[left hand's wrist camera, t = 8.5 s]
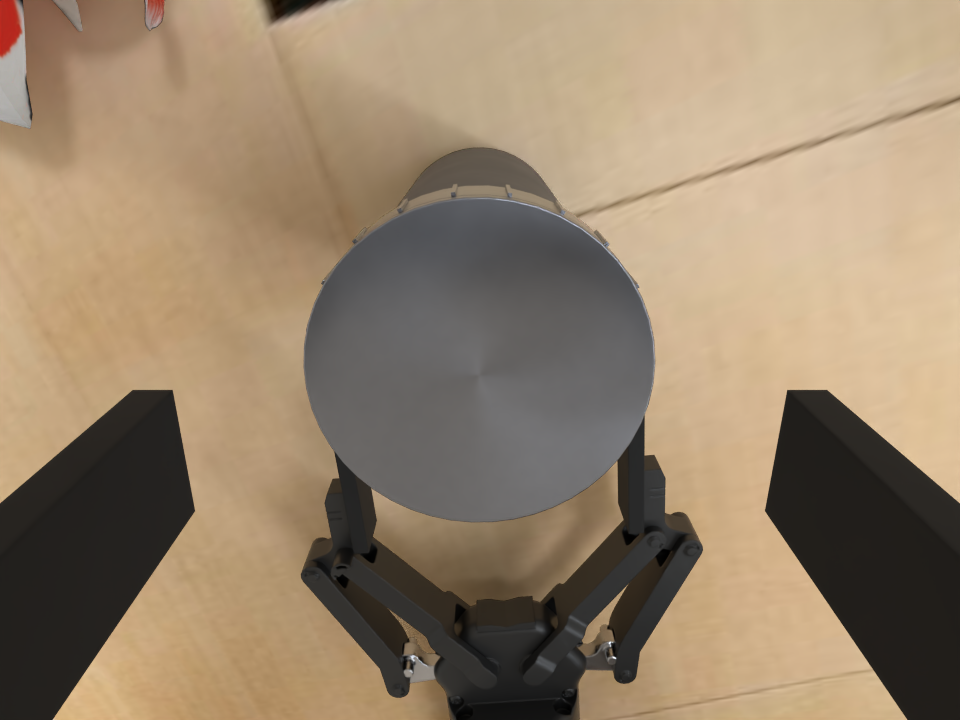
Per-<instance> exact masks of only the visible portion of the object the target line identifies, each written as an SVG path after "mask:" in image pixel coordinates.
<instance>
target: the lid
mask: <svg viewBox="0 0 960 720" xmlns="http://www.w3.org/2000/svg"><path fill="white" fill-rule="evenodd" d="M352 242H353V243H354V244H353V245H352V246H351V248H350V249H349V250H348V251H347V252H346V254H345V255H344V256H343V257H342V258H341V260H340V261H339V262H338V263H337V264H336V266H335V267H334V268H333V269H332V270H331V271H330V273H329V274H328V275H327V276H326V277H325V278H324V280H323V281H322V283H321V284H323V286H322V288H321V290H320V292H319V294H318V296H317V299H316V301H315V303H314V306H313V309H312V312H311V315H310V318H309V321H308V325H307V329H306V337H305V343H304V374H305V382H306V389H307V393H308V396H309V400H310V404H311V408H312V410H313V413H314V415H315V417H316V420H317V422H318V425H319V427H320V429H321V431H322V432H323V434H324V436H325V438H326V439H327V441H328V443H329V444H330V446H331V447H332V449H333V450H334V451H335V453H336V454H337V455H338V456H339V458H340V459H341V460H342V462H343V463H344V464H345V465H346V466H347V467H348V468H349V469H350V470H351V471H352V472H353V473H354V474H355V475H356V476H357V477H358V478H360V479H361V480H362V481H363V482H365V483H366V484H367V485H368V486H370V487H371V488H372V489H374V490H375V491H377V492H378V493H380V494H382V495H383V496H385V497H387V498H388V499H390V500H391V501H394V502H396V503H398V504H400V505H402V506H404V507H407V508H409V509H411V510H414V511H417V512H420V513H423V514H426V515H429V516H433V517H438V518H443V519H447V520H454V521H464V522H496V521H504V520H512V519H517V518H521V517H525V516H529V515H533V514H536V513H539V512H542V511H545V510H547V509H550V508H553V507H555V506H557V505H559V504H561V503H563V502H565V501H567V500H569V499H571V498H573V497H574V496H576V495H577V494H579V493H580V492H582V491H583V490H585V489H587V488H588V487H589V486H591V485H592V484H593V483H594V482H595V481H597V480H598V479H599V478H600V477H601V476H603V475H604V474H605V473H606V472H607V471H608V470H609V469H610V468H611V467H612V466H613V464H614V463H615V462H616V461H617V460H618V459H619V458H620V457H621V455H622V454H623V452H624V451H625V450H626V448H627V447H628V445H629V444H630V443H631V441H632V439H633V437H634V436H635V434H636V432H637V430H638V428H639V426H640V425H641V423H642V420H643V417H644V415H645V412H646V409H647V407H648V404H649V400H650V396H651V391H652V387H653V382H654V371H655V348H654V337H653V332H652V327H651V323H650V318H649V315H648V313H647V310H646V307H645V304H644V301H643V299H642V296H641V295H640V293H639V291H638V289H637V288H639V285H638V284H637V282H636V281H635V280H634V279H633V278H632V276H631V275H630V274H629V273H628V272H627V270H626V269H625V268H624V267H623V265H622V264H621V263H620V261H619V260H618V259H617V257H616V256H615V255H614V254H613V253H612V251H611V250H610V249H609V248H608V247H607V246H608V245H609V243H608V242H607V241H606V240H605V238H604V237H603V236H602V235H601V234H600V233H599V232H598V231H597V230H596V231H595V232H594V231H593V230H592V229H591V228H590V227H589V226H587V225H586V224H585V223H584V222H582V221H581V220H580V219H578V218H577V217H576V216H575V215H573V214H572V213H570V212H569V211H567V210H565V209H564V208H563V207H562V206H561V204H560V203H559V202H558V201H556V200H555V202H554V203H553V202H551V201H549V200H546V199H544V198H541V197H539V196H536V195H534V194H531V193H527V192H523V191H519V190H516V189H512V188H510V185H505V187H496V186H461V187H458V186H457V184H453V187H452V188H448V189H442V190H439V191H435V192H432V193H429V194H425V195H422V196H420V197H417V198H415V199H413V200H411V201H408V199H405V200H403V202H402V203H401V205H400V206H398V207H397V208H395V209H394V210H392V211H390V212H389V213H387V214H386V215H384V216H382V217H381V218H380V219H379V220H378V221H377V222H375V223H374V224H373V225H372V226H371V227H369V228H368V229H367V228H366V227H364V228H363V229H362V231H361V232H360V233H359V234H358V235H357V236H356V237H355V239H354V240H353V241H352Z"/></svg>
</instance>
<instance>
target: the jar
mask: <svg viewBox="0 0 960 720" xmlns="http://www.w3.org/2000/svg"><path fill="white" fill-rule="evenodd" d="M453 184H457V186H458V187H461V186H496V187H505V185H510V188H512V189H516V190H519V191H523V192H527V193H531V194H534V195H536V196H539V197H541V198H544V199H546V200H549V201H551V202H553V203H554V202H555V200H556V201H558V200H557V199H556V198H555V196H554V195H553V193H552V192H551V191H550V189H549V188H548V187H547V185H546V184H545V182H544V181H543V180H542V178H541V177H540V176H539V174H538V173H537V172H536V171H535V170H534V169H533V168H532V167H530V166H529V165H528V164H527V163H525V162H524V161H523V160H521V159H519V158H517V157H516V156H514V155H511V154H509V153H507V152H504V151H500V150H496V149H490V148H469V149H463V150H459V151H456V152H453V153H450V154H448V155H446V156H444V157H442V158H440V159H439V160H437V161H436V162H434V163H433V164H432V165H430V166H429V167H428V168H427V169H426V170H425V171H424V172H423V173H422V174H421V175H420V176H419V177H418V179H417V180H416V182H415V183H414V184H413V186H412V187H411V188H410V190H409V191H408V192H407V194H406V195H405V197H404V198H403V199H402V201H401V202H400V203H399V205H398V206H400V205H401V203H402V202H403V200H405V199H408V201H411V200H413V199H415V198H417V197H420V196H422V195H425V194H429V193H432V192H435V191H439V190H442V189H448V188H452V187H453ZM398 206H397V207H398ZM397 207H396V208H397Z"/></svg>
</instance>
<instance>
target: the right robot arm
mask: <svg viewBox="0 0 960 720" xmlns="http://www.w3.org/2000/svg"><path fill="white" fill-rule="evenodd" d="M644 423H645V415H644V417H643V420H642V423H641V425H640V426H639V428H638V430H637V432H636V434H635V436H634V437H633V439H632V441H631V443H630V444H629V445H628V447H627V448H626V450H625V451H624V452H623V454H622V455H621V457H620V458H619V459H618V504H619V507H620V510H621V513H622V516H623V519H624V520H623V521H622V522H621V523H620V525H619V526H618V527H617V528H616V529H615V530H614V531H613V532H612V533H611V534H610V535H609V536H608V537H607V538H606V540H605V541H604V542H603V543H602V544H601V545H600V546H599V547H598V548H597V549H596V550H595V551H594V552H593V553H592V554H591V556H590V557H589V558H588V559H587V560H586V561H585V562H584V563H583V564H582V565H581V566H580V567H579V568H578V569H577V571H576V572H575V573H574V574H573V575H572V576H571V577H570V578H569V579H568V580H567V581H566V582H565V583H564V584H561V583H559V584H557V585H556V586H555V587H554V588H553V589H552V590H551V591H550V592H549V593H548V594H547V596H546V597H545V598H544V599H543V600H542V601H541V602H538V601H533V598H532V596H527V597H517V598H514V599H510V600H507V601H500V600H493V599H484V600H477V604H476V605H474V606H471V607H470V606H469V605H468V604H466V603H465V602H464V601H463V600H461V599H460V598H459V597H457V596H456V595H455V594H454V593H452V592H451V591H447V592H443V591H442V590H440V589H439V588H438V587H436V586H435V585H434V584H433V583H431V582H430V581H429V580H427V579H426V578H425V577H424V576H422V575H421V574H420V573H418V572H417V571H416V570H415V569H413V568H412V567H411V566H409V565H408V564H407V563H406V562H404V561H403V560H402V559H401V558H399V557H398V556H397V555H395V554H394V553H393V552H392V551H390V550H389V549H388V548H386V547H385V546H384V545H383V544H381V543H380V542H379V541H377V540H376V539H375V538H374V537H373V534H374V530H375V525H376V521H377V520H376V514H375V508H374V502H373V496H372V490H371V487H370V486H368V485H367V484H366V483H365V482H363V481H362V480H361V479H360V478H358V477H357V476H356V475H355V474H354V473H353V472H352V471H351V470H350V469H349V468H348V467H347V466H346V465H345V464H344V463H343V462H342V460H341V459H340V458H339V456H338V455H337V454H336V453H335V457H336V462H337V468H338V473H339V478H338V479H333V480H332V482H331V485H330V488H329V490H328V493H327V496H326V500H325V507H326V512H327V517H328V522H329V527H330V532H331V537H332V538H330V539H327V538H318V539H316V540H315V541H313V544H312V546H311V549H310V551H309V554H308V557H307V559H306V562H305V565H304V567H303V570H302V573H301V578H302V580H303V582H304V583H305V584H306V585H307V586H308V587H309V589H310V590H311V591H312V592H313V593H314V594H315V595H316V597H317V598H318V599H319V600H320V601H321V602H322V603H323V604H324V606H325V607H326V608H327V609H328V610H329V611H330V612H331V614H332V615H333V616H334V617H335V618H336V619H337V620H338V622H339V623H340V624H341V625H342V626H343V627H344V628H345V630H346V631H347V632H348V633H349V634H350V635H351V636H352V637H353V639H354V640H355V641H356V642H357V643H358V644H359V645H360V647H361V648H362V649H363V650H364V651H365V652H366V653H367V655H368V656H369V657H370V658H371V659H372V660H373V661H374V663H375V664H376V665H377V666H378V667H379V668H380V670H381V673H382V676H383V679H384V682H385V685H386V688H387V691H388V693H389V694H390V695H391V696H393V697H396V698H401V697H404V696H406V695H407V694H408V692H409V687H410V683H415V682H421V681H428V680H434V679H436V680H437V682H438V683H439V684H440V685H441V686H442V687H443V689H444V690H445V692H446V695H447V701H448V708H449V715H450V720H580V714H579V692H578V684H579V681H580V679H581V677H582V675H583V674H584V672H585V670H613V673H614V678H615V680H616V681H617V682H619V683H623V684H626V683H630V682H632V681H633V680H634V679H635V678H636V674H637V667H638V661H639V654H640V651H641V649H642V648H643V646H644V645H645V643H646V641H647V640H648V638H649V637H650V635H651V633H652V632H653V630H654V629H655V627H656V625H657V624H658V622H659V621H660V619H661V617H662V616H663V614H664V613H665V611H666V609H667V608H668V606H669V605H670V603H671V602H672V600H673V598H674V597H675V595H676V594H677V592H678V590H679V589H680V587H681V586H682V584H683V582H684V581H685V579H686V578H687V576H688V574H689V573H690V571H691V570H692V568H693V566H694V565H695V563H696V562H697V560H698V559H699V557H700V555H701V554H702V551H703V547H702V544H701V542H700V540H699V538H698V536H697V534H696V532H695V530H694V528H693V526H692V524H691V522H690V520H689V518H688V516H687V515H686V514H684V513H682V512H676V513H673V514H671V515H670V514H666V513H665V476H664V474H663V472H662V470H661V468H660V466H659V464H658V462H657V460H656V458H655V455H647V456H644ZM334 452H335V451H334ZM627 585H628V586H627ZM626 586H627V587H626ZM625 587H626V589H625V591H624V593H623V594H622V596H621V598H620V599H619V601H618V603H617V604H616V606H615V608H614V610H613V612H612V614H611V617H610V621H609V626H608V625H602V626H601V627H600V632H599V633H598V635H597V637H596V639H595V640H594V641H593V642H591V643H588V644H583V642H582V639H583V637H584V635H585V631H586V628H587V626H588V625H589V623H590V622H591V621H592V620H593V619H594V618H595V617H596V616H597V615H598V614H599V613H600V612H601V611H602V610H603V609H604V608H605V607H606V606H607V605H608V604H609V603H610V602H611V601H612V600H613V599H614V598H615V597H616V596H617V595H618V594H619V593H620V592H621V591H622V590H623V589H624V588H625ZM389 609H390V610H391V611H392V612H394V613H395V614H396V615H398V616H399V617H400V618H402V619H403V620H404V621H406V622H407V623H408V624H410V625H411V626H412V627H414V628H415V629H416V630H418V631H419V632H420V633H422V634H423V635H424V636H426V638H427V639H428V642H429V645H430V646H431V648H432V649H433V650H434V651H436V652H435V653H434V654H430V653H426V652H424V651H423V650H422V649H421V647H420V646H419V645H418V644H417V639H416V638H414V637H410V638H408V637H407V635H406V632H405V630H404V629H403V627H402V626H401V624H400V623H399V621H398V620H397V619H396V618H395V617H394V615H393V614H392V613H391V612H390V611H389Z"/></svg>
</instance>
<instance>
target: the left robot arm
mask: <svg viewBox="0 0 960 720" xmlns="http://www.w3.org/2000/svg"><path fill="white" fill-rule="evenodd" d="M194 512H195V508H194V503H193V498H192V492H191V487H190V481H189V476H188V471H187V465H186V460H185V454H184V449H183V444H182V438H181V433H180V427H179V422H178V417H177V411H176V406H175V400H174V395H173V390H132V391H131V392H130V393H129V394H128V395H127V396H125V397H124V398H123V399H122V400H121V401H120V402H118V403H117V404H116V405H115V406H114V407H113V408H111V409H110V410H109V411H108V412H107V413H106V414H104V415H103V416H102V417H101V418H100V419H99V420H97V421H96V422H95V423H94V424H93V425H91V426H90V427H89V428H88V429H87V430H86V431H84V432H83V433H82V434H81V435H80V436H79V437H77V438H76V439H75V440H74V441H73V442H72V443H70V444H69V445H68V446H67V447H66V448H65V449H63V450H62V451H61V452H60V453H59V454H58V455H56V456H55V457H54V458H53V459H52V460H51V461H49V462H48V463H47V464H46V465H45V466H43V467H42V468H41V469H40V470H39V471H38V472H36V473H35V474H34V475H33V476H32V477H31V478H29V479H28V480H27V481H26V482H25V483H24V484H22V485H21V486H20V487H19V488H18V489H17V490H15V491H14V492H13V493H12V494H11V495H10V496H8V497H7V498H6V499H5V500H4V501H3V502H1V503H0V720H53V718H54V717H55V715H56V714H57V712H58V711H59V709H60V708H61V707H62V705H63V704H64V702H65V701H66V699H67V698H68V696H69V695H70V693H71V692H72V690H73V689H74V687H75V686H76V685H77V683H78V682H79V680H80V679H81V677H82V676H83V674H84V673H85V671H86V670H87V668H88V667H89V666H90V664H91V663H92V661H93V660H94V658H95V657H96V655H97V654H98V652H99V651H100V649H101V648H102V646H103V645H104V644H105V642H106V641H107V639H108V638H109V636H110V635H111V633H112V632H113V630H114V629H115V627H116V626H117V624H118V623H119V622H120V620H121V619H122V617H123V616H124V614H125V613H126V611H127V610H128V608H129V607H130V605H131V604H132V603H133V601H134V600H135V598H136V597H137V595H138V594H139V592H140V591H141V589H142V588H143V586H144V585H145V583H146V582H147V581H148V579H149V578H150V576H151V575H152V573H153V572H154V570H155V569H156V567H157V566H158V564H159V563H160V562H161V560H162V559H163V557H164V556H165V554H166V553H167V551H168V550H169V548H170V547H171V545H172V544H173V542H174V541H175V540H176V538H177V537H178V535H179V534H180V532H181V531H182V529H183V528H184V526H185V525H186V523H187V522H188V520H189V519H190V518H191V516H192V515H193V513H194ZM765 512H766V513H767V515H768V516H769V518H770V519H771V520H772V522H773V523H774V525H775V526H776V528H777V529H778V531H779V532H780V534H781V535H782V537H783V538H784V540H785V541H786V542H787V544H788V545H789V547H790V548H791V550H792V551H793V553H794V554H795V556H796V557H797V559H798V560H799V562H800V563H801V564H802V566H803V567H804V569H805V570H806V572H807V573H808V575H809V576H810V578H811V579H812V581H813V582H814V583H815V585H816V586H817V588H818V589H819V591H820V592H821V594H822V595H823V597H824V598H825V600H826V601H827V603H828V604H829V605H830V607H831V608H832V610H833V611H834V613H835V614H836V616H837V617H838V619H839V620H840V622H841V623H842V624H843V626H844V627H845V629H846V630H847V632H848V633H849V635H850V636H851V638H852V639H853V641H854V642H855V644H856V645H857V646H858V648H859V649H860V651H861V652H862V654H863V655H864V657H865V658H866V660H867V661H868V663H869V664H870V666H871V667H872V668H873V670H874V671H875V673H876V674H877V676H878V677H879V679H880V680H881V682H882V683H883V685H884V686H885V687H886V689H887V690H888V692H889V693H890V695H891V696H892V698H893V699H894V701H895V702H896V704H897V705H898V707H899V708H900V709H901V711H902V712H903V714H904V715H905V717H906V718H907V720H960V503H959V502H957V501H956V500H955V499H954V498H953V497H952V496H950V495H949V494H948V493H947V492H946V491H945V490H943V489H942V488H941V487H940V486H939V485H938V484H936V483H935V482H934V481H933V480H932V479H931V478H929V477H928V476H927V475H926V474H925V473H924V472H922V471H921V470H920V469H919V468H918V467H916V466H915V465H914V464H913V463H912V462H911V461H909V460H908V459H907V458H906V457H905V456H904V455H902V454H901V453H900V452H899V451H898V450H897V449H895V448H894V447H893V446H892V445H891V444H890V443H888V442H887V441H886V440H885V439H884V438H883V437H881V436H880V435H879V434H878V433H877V432H876V431H874V430H873V429H872V428H871V427H870V426H869V425H867V424H866V423H865V422H864V421H863V420H861V419H860V418H859V417H858V416H857V415H856V414H854V413H853V412H852V411H851V410H850V409H849V408H847V407H846V406H845V405H844V404H843V403H842V402H840V401H839V400H838V399H837V398H836V397H835V396H833V395H832V394H831V393H830V392H829V391H828V390H787V395H786V400H785V406H784V411H783V417H782V422H781V427H780V433H779V438H778V444H777V449H776V454H775V460H774V465H773V471H772V476H771V481H770V487H769V492H768V498H767V503H766V508H765Z"/></svg>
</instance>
